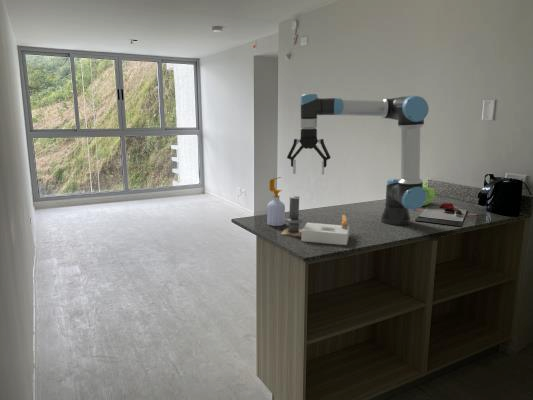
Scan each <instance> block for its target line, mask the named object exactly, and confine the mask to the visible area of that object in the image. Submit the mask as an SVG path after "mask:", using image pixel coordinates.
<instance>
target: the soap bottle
mask: <svg viewBox="0 0 533 400" xmlns="http://www.w3.org/2000/svg"><path fill="white" fill-rule="evenodd" d="M280 178H282V177H281V176H279V177H275V178H271V179H270V180H269V192H273V194H274V195H273V196H272V200H270V202H268V203H267V208H266V209H267V210H266V211H267V212H266V218H267V219H266V220H267V221H266V224H267V225H268V226H270V225H271V227H282V226H284V225H285V223H286V222H285V218H286V216H285V215H286V213H285V212H286V205H285V203H284V202H283V201H281V200H280V195H279V193H280V192H283V191H282V190H281V189H277V188H275V181H276V180H277V179H280Z"/></svg>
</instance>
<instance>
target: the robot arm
mask: <svg viewBox="0 0 533 400" xmlns="http://www.w3.org/2000/svg"><path fill="white" fill-rule="evenodd" d="M428 113H429V104H428V102H427V100H425V98H424V97H422V96H420V95H408V96H407V95H406V96H400V97H393V98H383V99H382V100H368V99H367V100H365V99H361V100H360V99H342V98H340V97H339V98H337V97H334V98H333V97H331V98H327V97H326V98H319V97H318V94H317V93H304V94H302V95H300V128H301V129H300V138H299V139H298V138H294V140H293V143H292V146H291V148H290V150H289V152H288V154H287V157H286V159H288V160H290V166H291V167H292V174H293V175H295V174H296V173H297V172H296V171H297V170H296V169H297V165H296V161H297V159H296V157H297V156H298V155H299V153H301V151H302V150H303V149H310V150H311V149H314V150H315V151H316V152H317V154H318V155H319V157H321V159H322V160H321V175H322V176H323V175H324V174H325V168H327V165H328V164H327V163H328V162H327V161H328V160H331V155H330V152H329V151H328V149H327V147H326V145H325V140H324V138H321V139H318V130H317V128H318V116H354V117H356V116H357V117H358V116H361V117H380V118H381V119H389V120H394V121H397V126H398V127H399V129H400V131H401V133H400V134H401V135H400V136H401V138H400V140H401V142H400V145H401V146H400V148H401V149H400V151H401V152H400V153H401V154H400V156H401V157H400V160H401V161H400V166H401V167H400V178H397V179H396V178H391V179H390V178H389V179H387V181H386V188H385V189H386V191H385V205H384V207H383V211H382V213H381V216H380V221H381V222H382V223H383V224H384V223H385V224H388V225H395V226H407V225H409V224H411V220H412V217H411V215H410V211H409V210H412V211H413V210H418V209H421V207H423V205H424V203H425V202H426V199H427V194H426V191H425V190H424V189H423V184H424V183H423V182H424V181H423V180H422V179H421V178H420V176H421V175H420V173H421V172H420V171H421V169H420V166H421V164H420V163H421V161H420V160H421V128H422V127H423V126H424V125H425V118H427V116H428ZM299 143H300V146H299V148H298V149H297V150H296V151H295V149H296V147H297V145H298V144H299ZM318 143H319V144H320V145H321V148H322V150H323V152H324V153H323V152H322V151H321V149H320V148H319V147H318V145H317V144H318ZM294 151H295V152H294ZM293 153H294V154H293Z"/></svg>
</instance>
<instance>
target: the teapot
mask: <svg viewBox="0 0 533 400" xmlns="http://www.w3.org/2000/svg"><path fill="white" fill-rule="evenodd" d="M423 182H424V183H423V189H424V190H425V191H426V194H427V199H426V202H425V203H424V205H423V206H428V205H429V204H430V203H431V201H433V200H434V199H436V196H437V195H436V191H435V188H434V187H428V185H427V184H428V181H423ZM423 206H422V207H423Z"/></svg>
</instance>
